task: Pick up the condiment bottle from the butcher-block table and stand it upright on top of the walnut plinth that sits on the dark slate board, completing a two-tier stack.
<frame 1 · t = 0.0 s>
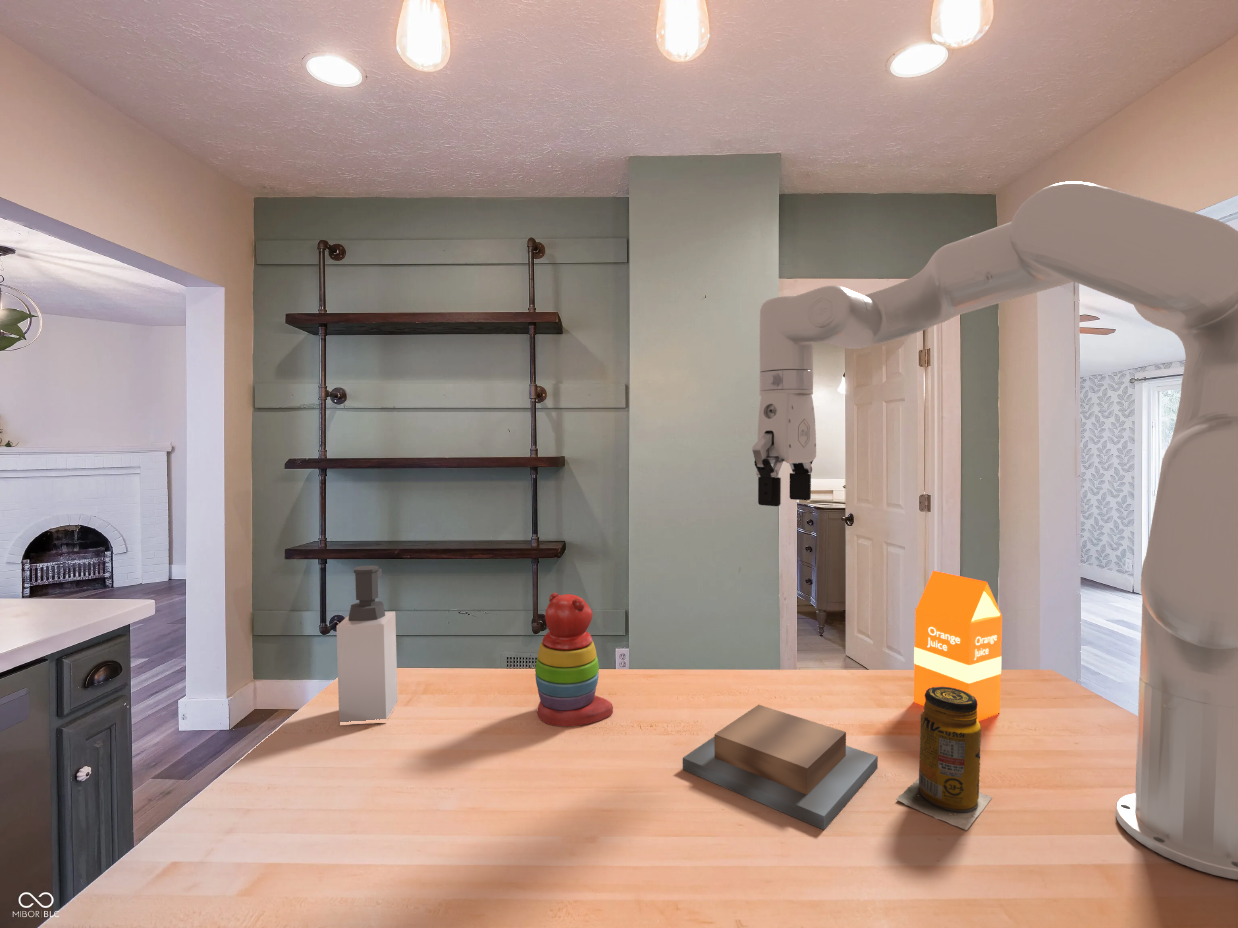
hand: (785, 502, 91), 31 cm above the countertop, tool pointing down, fingers open, 9 cm apart
soap dispenser: (371, 712, 94), on the countertop
plinth: (780, 768, 77), on the countertop
orange juice: (955, 708, 94), on the countertop
stacking bear: (569, 713, 93), on the countertop
condiment: (944, 801, 70), on the countertop
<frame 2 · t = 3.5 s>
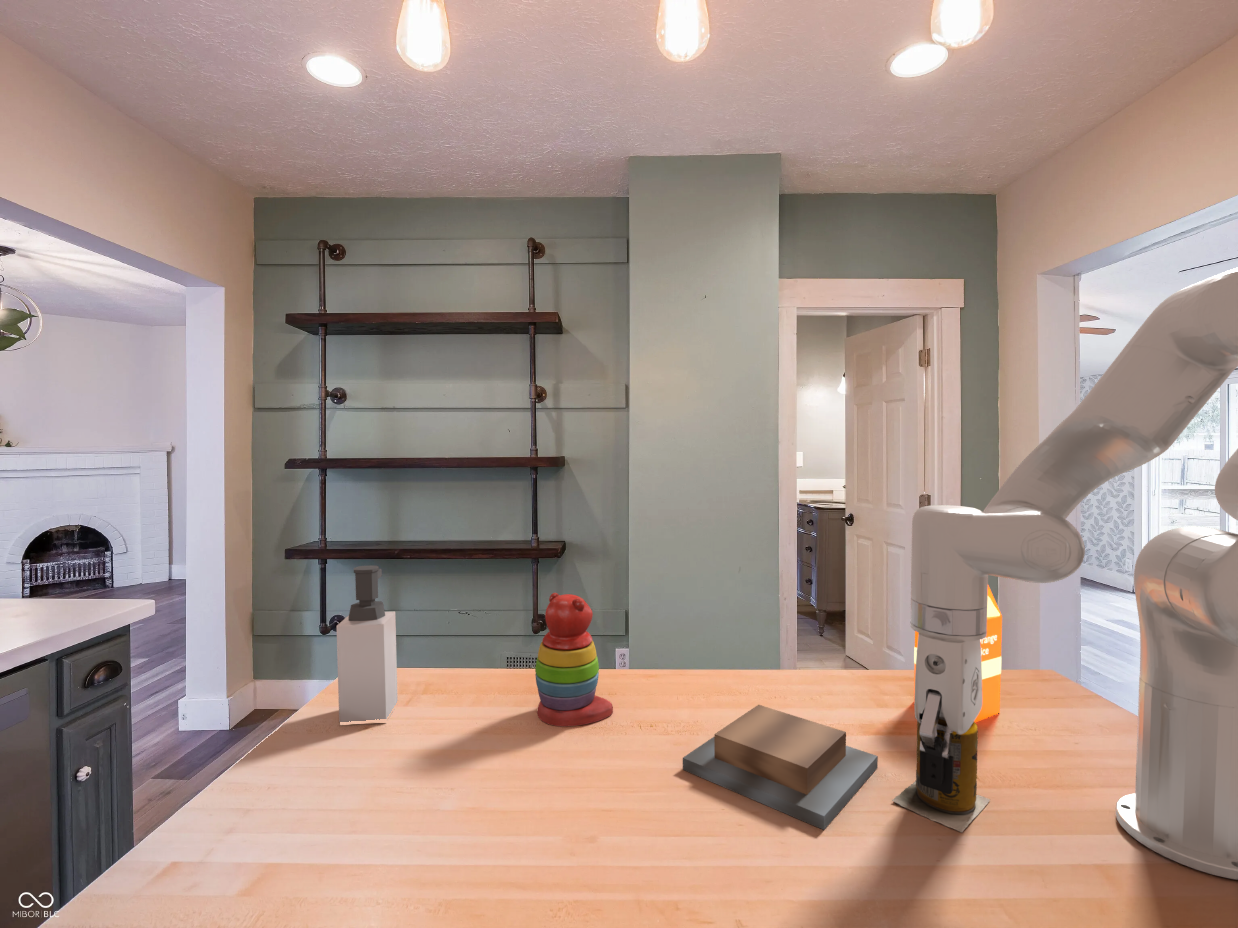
hand: (944, 773, 70), 3 cm above the countertop, tool pointing down, fingers open, 6 cm apart
condiment: (941, 803, 70), on the countertop, touching gripper
everything else where it was.
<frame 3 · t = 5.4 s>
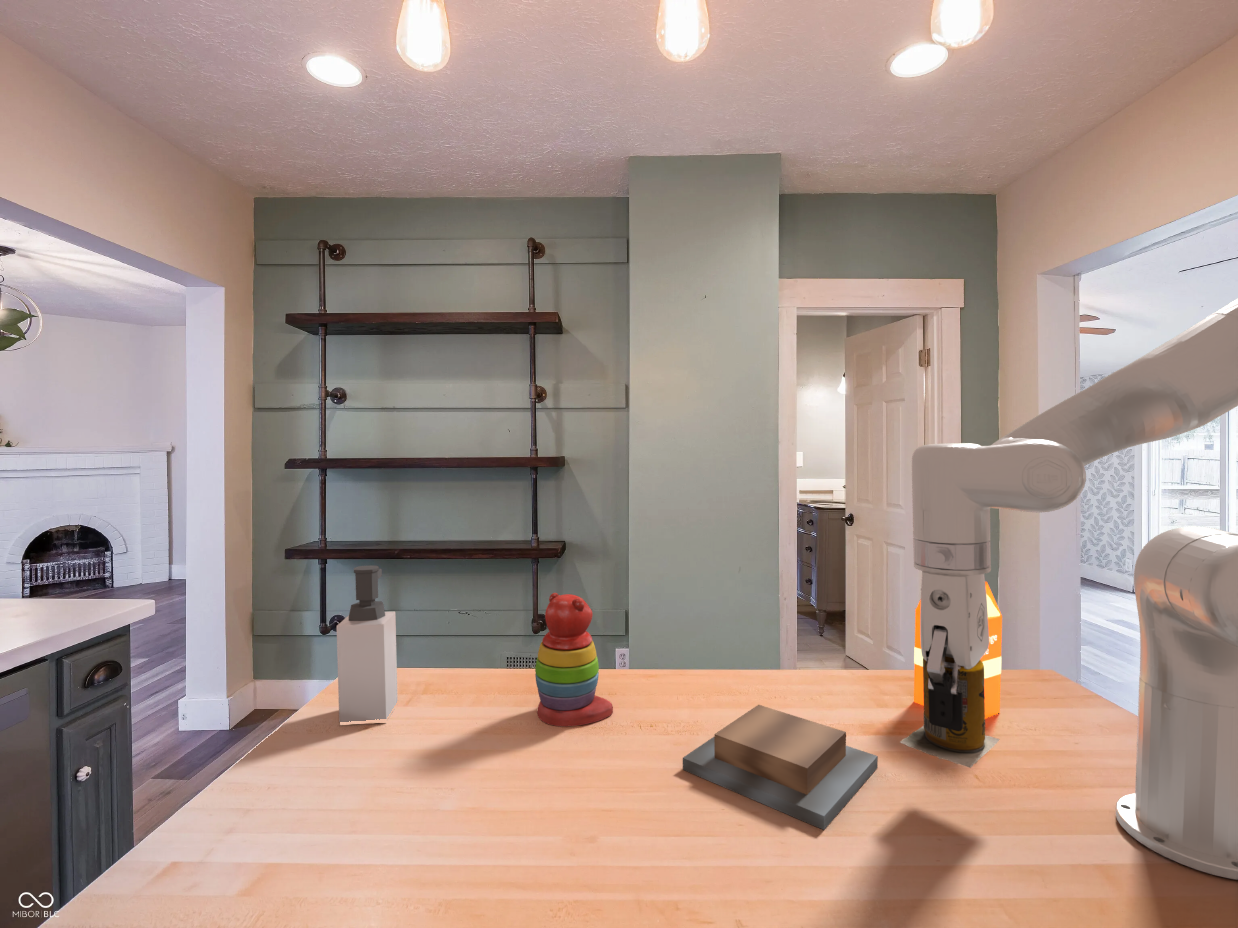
hand: (954, 713, 69), 10 cm above the countertop, tool pointing down, fingers closed on condiment, 6 cm apart
condiment: (949, 744, 69), point 7 cm above the countertop, touching gripper
everything else where it was.
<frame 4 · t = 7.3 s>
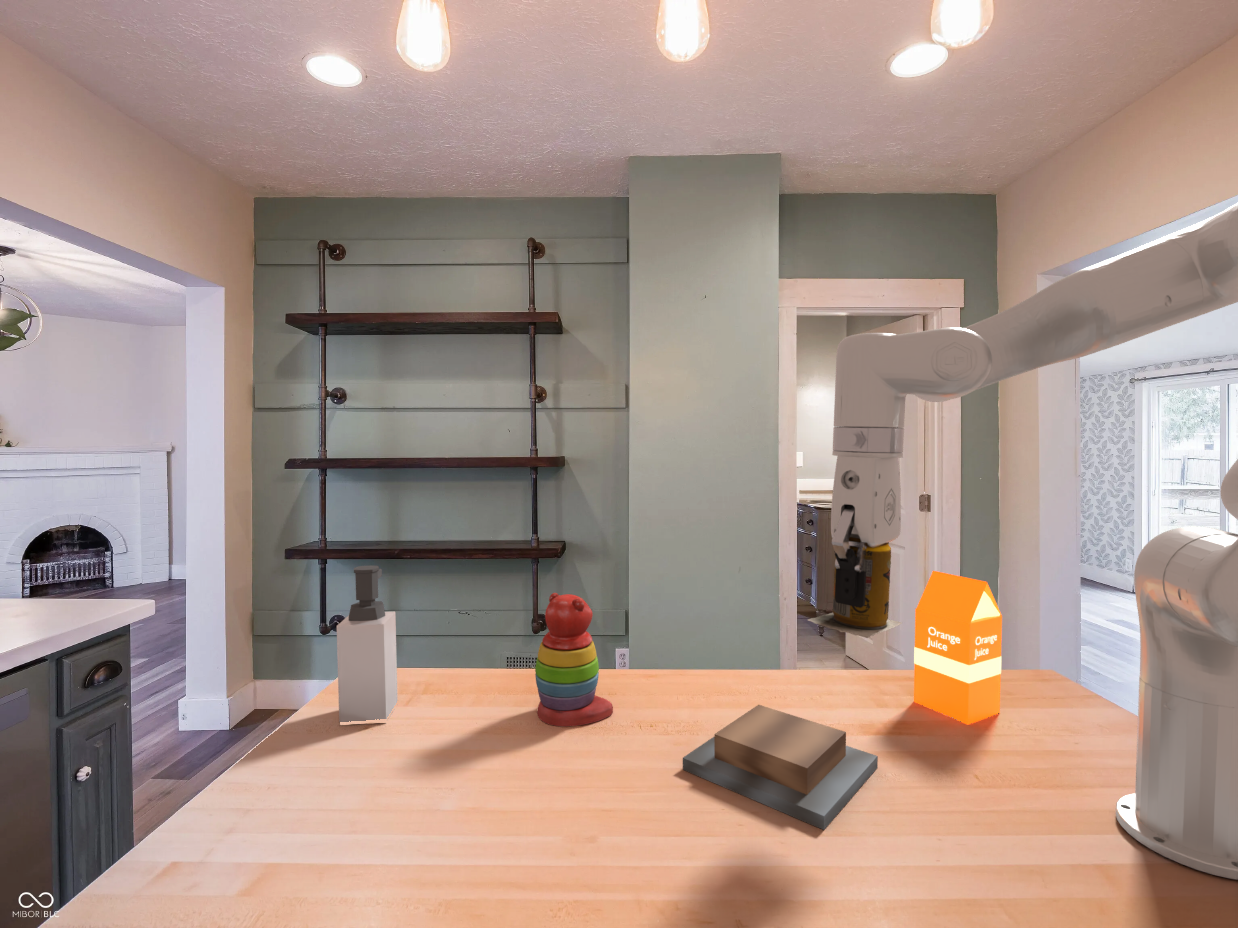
hand: (860, 597, 72), 22 cm above the countertop, tool pointing down, fingers closed on condiment, 6 cm apart
condiment: (854, 625, 72), point 19 cm above the countertop, touching gripper
everything else where it was.
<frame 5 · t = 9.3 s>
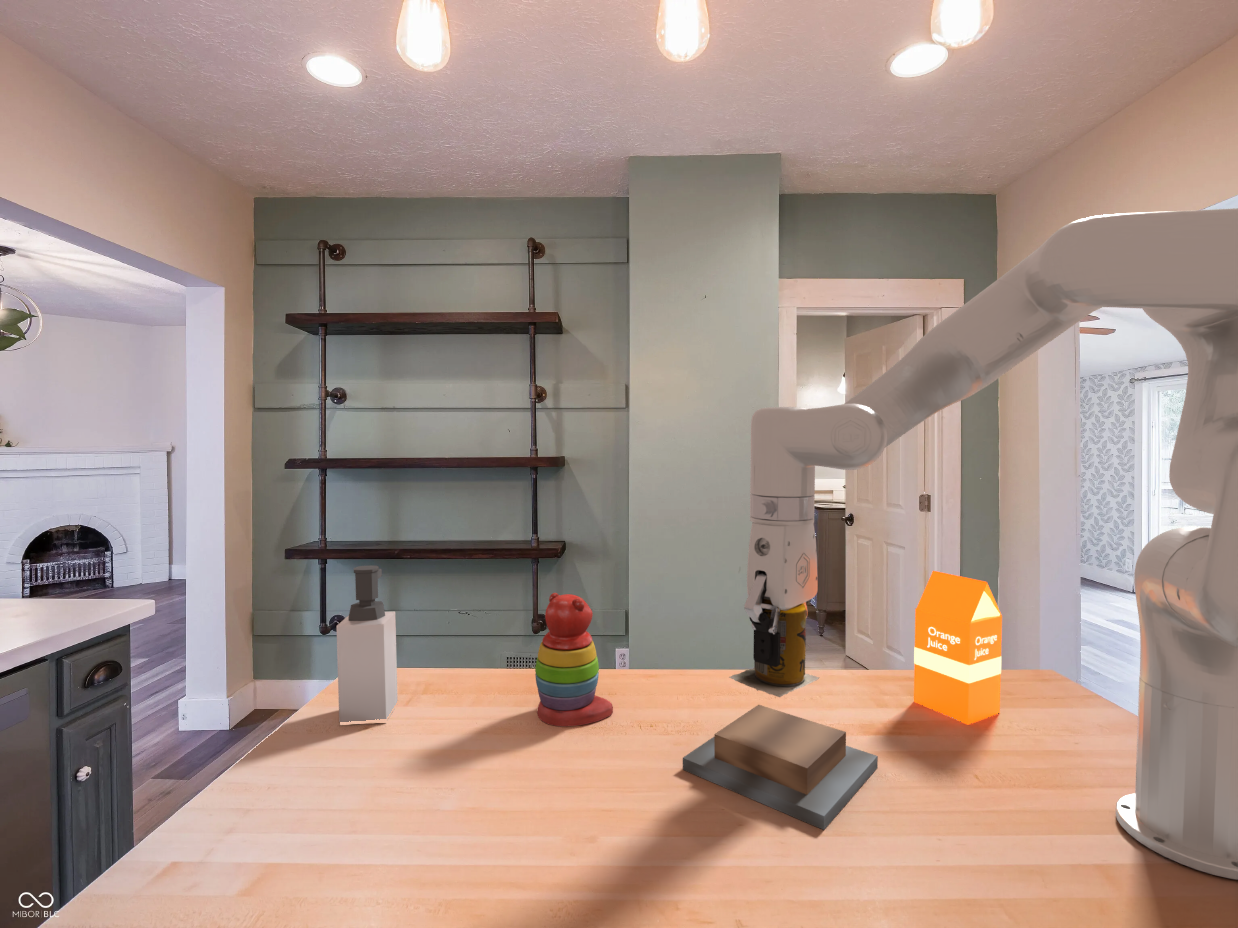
hand: (780, 654, 76), 14 cm above the countertop, tool pointing down, fingers closed on condiment, 6 cm apart
condiment: (774, 681, 76), point 11 cm above the countertop, touching gripper
everything else where it was.
when the fingers open (9 cm above the countertop, at t = 10.8 s): condiment drops 1 cm, resting on plinth.
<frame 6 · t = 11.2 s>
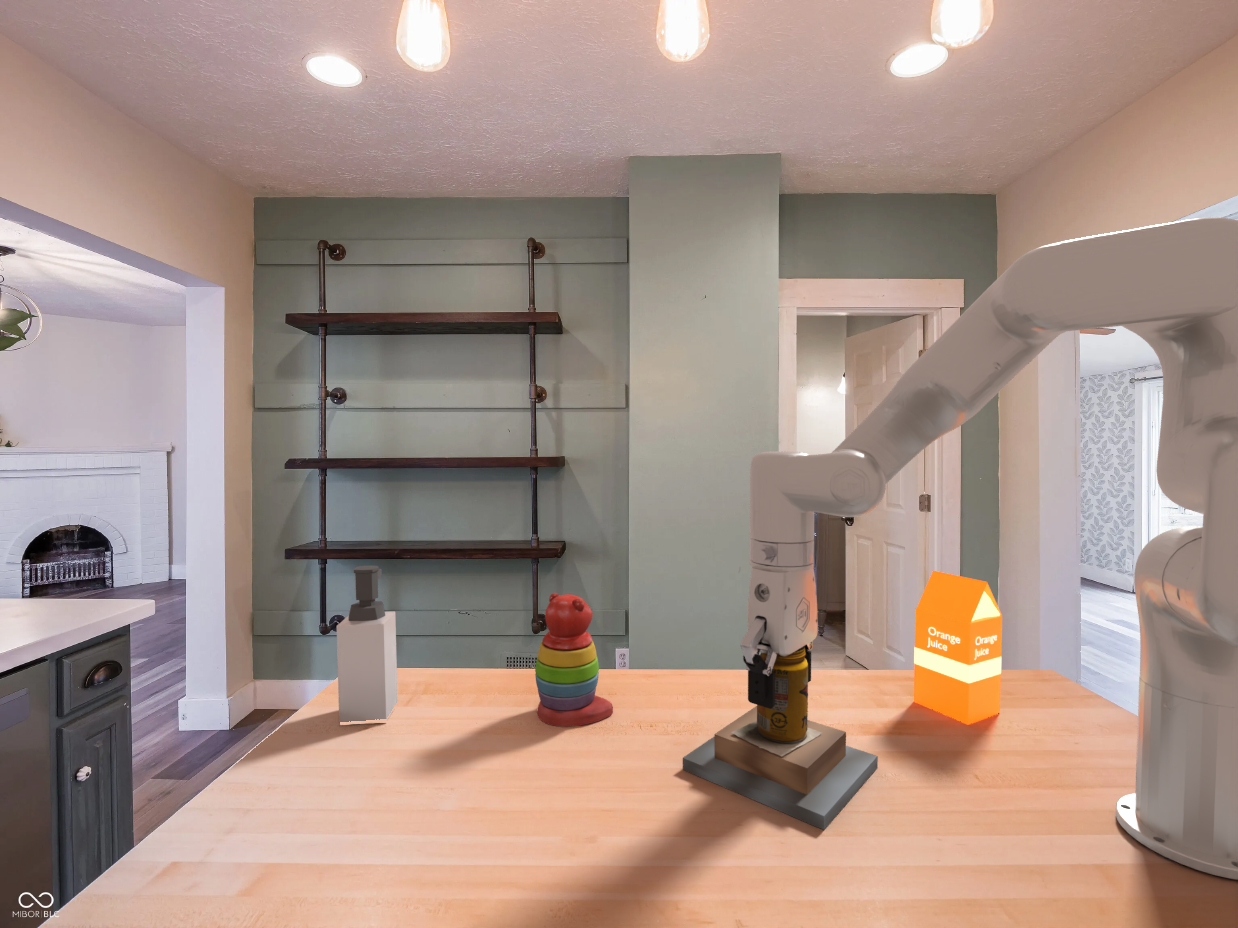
hand: (780, 691, 76), 10 cm above the countertop, tool pointing down, fingers open, 9 cm apart
condiment: (776, 736, 76), point 4 cm above the countertop, touching plinth
everything else where it was.
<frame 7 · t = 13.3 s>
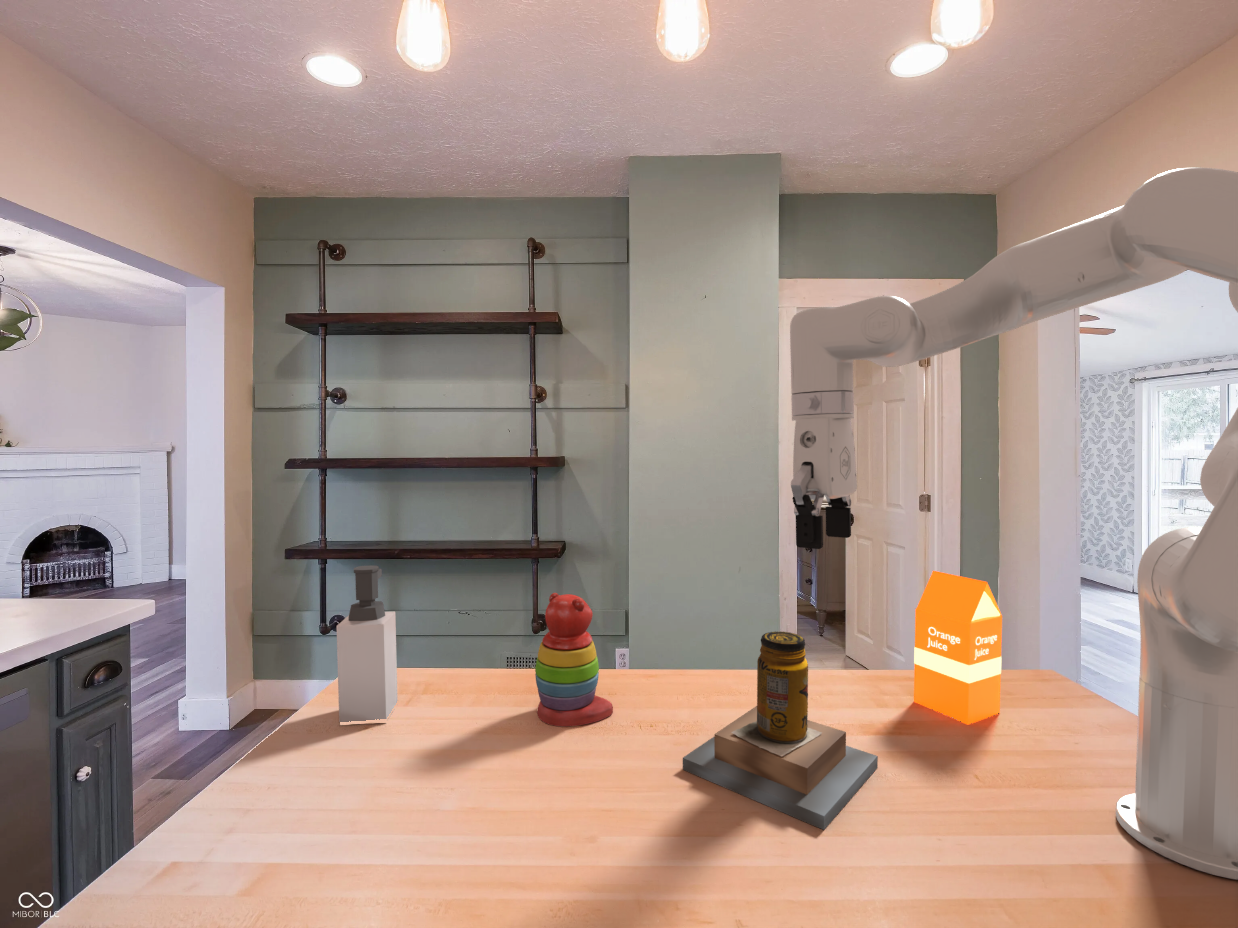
hand: (824, 542, 80), 27 cm above the countertop, tool pointing down, fingers open, 9 cm apart
nothing on the countertop moved.
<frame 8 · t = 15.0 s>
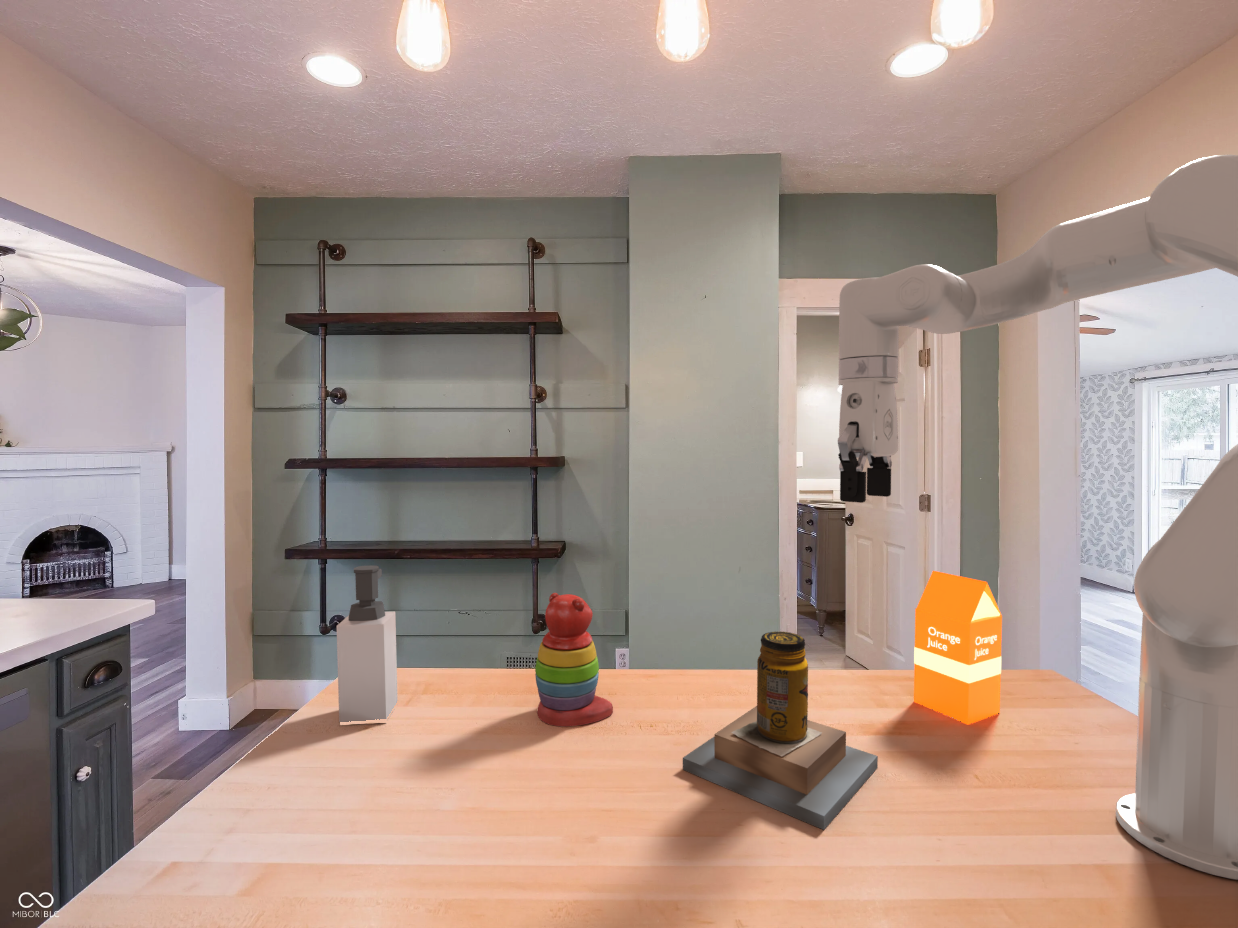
hand: (866, 498, 85), 32 cm above the countertop, tool pointing down, fingers open, 9 cm apart
nothing on the countertop moved.
at the end: condiment inside the target area on the plinth (0.7 cm from its centre), point 4.3 cm above the plinth's base; condiment tilted 0°; the gripper is holding nothing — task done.
